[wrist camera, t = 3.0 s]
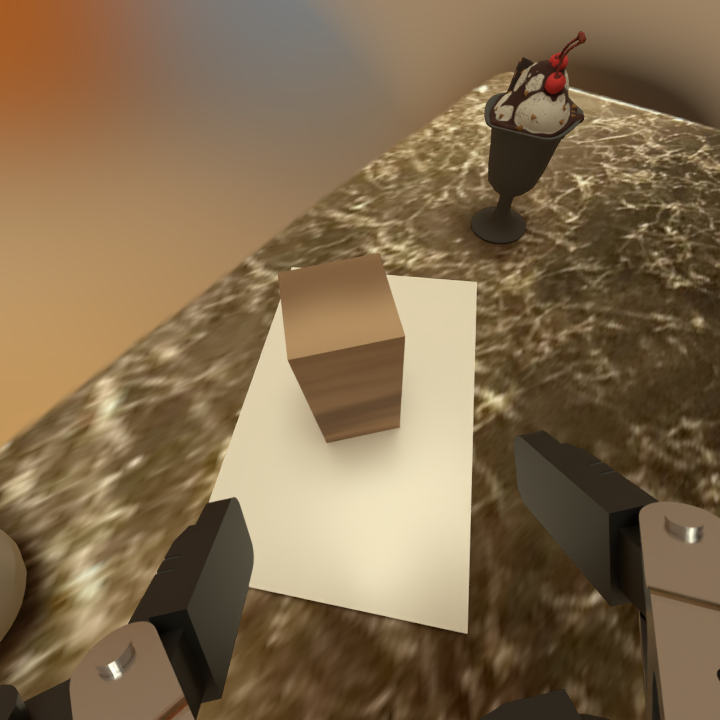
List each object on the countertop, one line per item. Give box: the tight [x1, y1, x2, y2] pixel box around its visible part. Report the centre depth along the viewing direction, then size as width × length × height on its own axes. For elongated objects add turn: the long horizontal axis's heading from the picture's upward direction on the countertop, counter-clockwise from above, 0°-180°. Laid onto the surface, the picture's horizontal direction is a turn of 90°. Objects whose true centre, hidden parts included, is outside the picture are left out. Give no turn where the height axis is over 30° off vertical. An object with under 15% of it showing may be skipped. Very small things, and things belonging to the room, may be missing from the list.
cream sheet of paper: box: [209, 267, 477, 634], centre depth 27 cm, size 24×16×1 cm, turn 170°
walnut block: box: [278, 253, 405, 443], centre depth 22 cm, size 5×5×11 cm
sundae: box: [471, 31, 586, 243], centre depth 29 cm, size 7×7×15 cm
